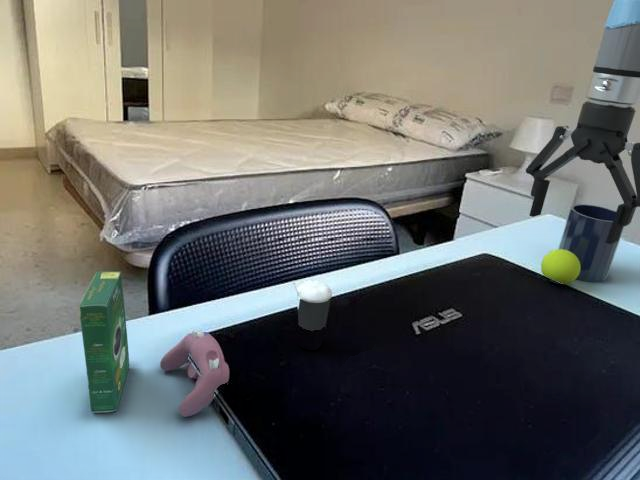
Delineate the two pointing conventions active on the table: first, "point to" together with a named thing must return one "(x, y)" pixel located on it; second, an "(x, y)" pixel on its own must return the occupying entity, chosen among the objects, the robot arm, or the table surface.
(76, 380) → the table surface
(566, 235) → the tube
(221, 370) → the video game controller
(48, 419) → the table surface
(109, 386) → the coffee box
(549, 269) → the tennis ball
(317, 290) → the milkshake
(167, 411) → the table surface
